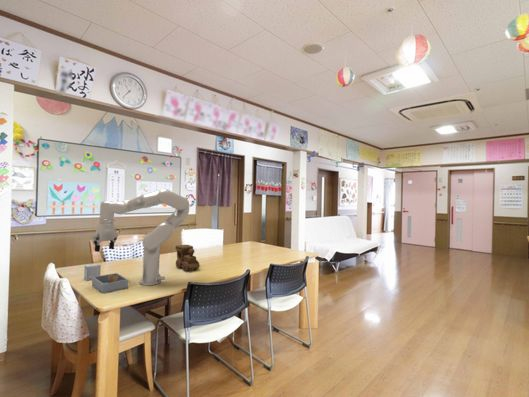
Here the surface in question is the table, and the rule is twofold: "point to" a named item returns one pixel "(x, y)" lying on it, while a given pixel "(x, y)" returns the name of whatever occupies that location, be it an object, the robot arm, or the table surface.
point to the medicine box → (91, 271)
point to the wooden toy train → (186, 257)
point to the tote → (105, 287)
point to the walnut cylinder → (112, 278)
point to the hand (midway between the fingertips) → (104, 250)
